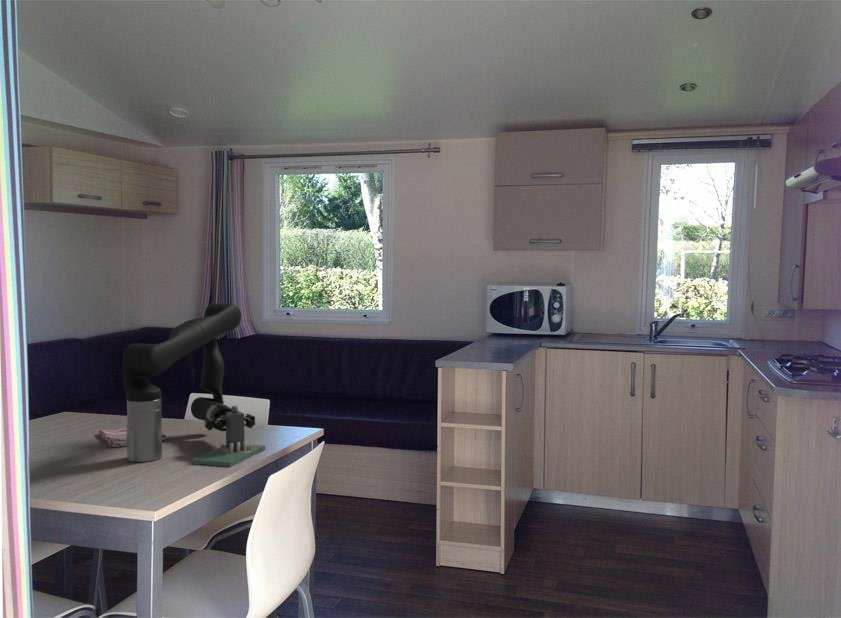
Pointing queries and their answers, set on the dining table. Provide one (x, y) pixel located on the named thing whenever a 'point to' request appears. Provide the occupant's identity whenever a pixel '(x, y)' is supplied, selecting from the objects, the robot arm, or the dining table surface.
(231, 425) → the block
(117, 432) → the dish towel
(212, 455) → the board
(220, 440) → the dining table surface
